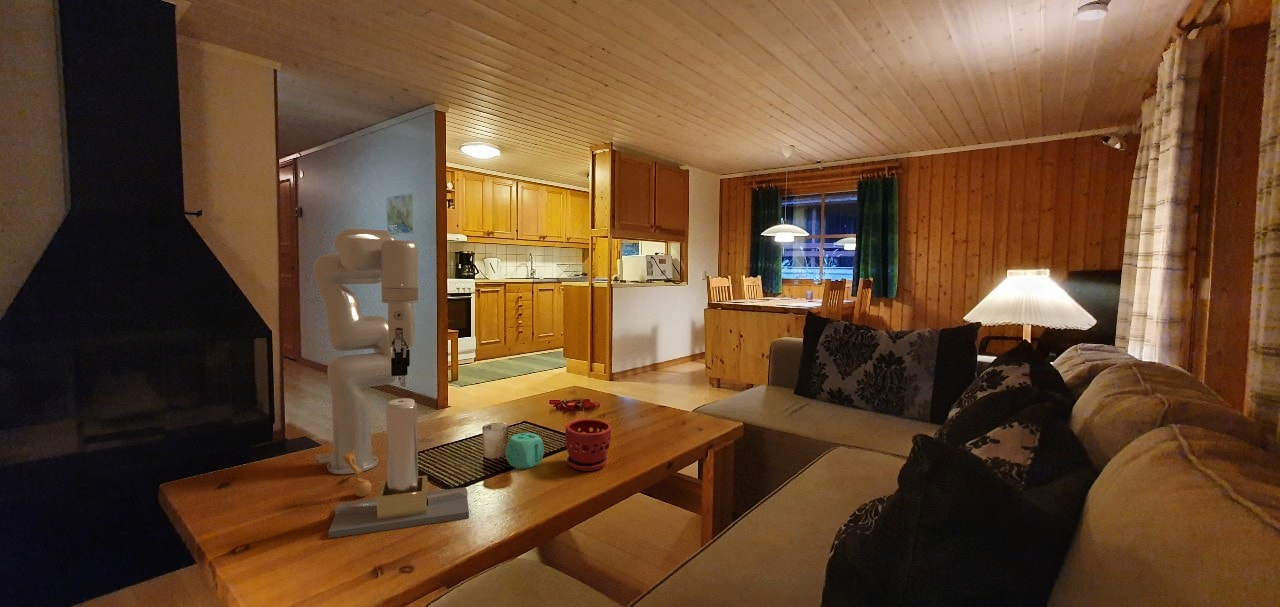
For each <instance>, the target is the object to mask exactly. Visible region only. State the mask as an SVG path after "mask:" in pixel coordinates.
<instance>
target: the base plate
mask: <svg viewBox="0 0 1280 607" xmlns="http://www.w3.org/2000/svg"><path fill="white" fill-rule="evenodd" d="M464 488H466V489H467V487H465V486H464V487H456V488H448V489H441V490H433V491H427V496H430V495H435V494H440V493H445V492H449V491H454V490H459V489H464ZM375 502H377V497H376V498H370V499H363V500H362V499H361V500H355V501H354V500H353V501H346V502H345V501H344V502H340V503H339V504H354V503H375ZM469 510H470V509H469V502H468V496H467V497H465V498H460V499H456V500H451V501H447V502H442V503H437V504H433V505H428V504H427V514H422V515H415V516H407V517H400V518H393V519H386V520H379V521H377V512H374V513H354V514H335V513H334V517H333V520H332V522H331V525H330V526H329V527H330V528H329V530H328V539H329V538H330V539H332V538H331V537H337V538H342V537H341V536H344V537H349V536H348V535H351V536H355V535H364V534H368V533H369V534H370V533H376V532H377V533H378V532H384V531H390V530H397V529H403V528H405V529H406V528H410V527H419V526H424V525H425V524H426V525H432V524H431V523H433V524H437V523H438V524H439V523H444V522H446V523H447V522H452V521H458V520H467V519H469V518H470V511H469ZM423 524H424V525H423ZM418 525H419V526H418Z"/></svg>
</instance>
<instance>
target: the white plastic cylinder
mask: <svg viewBox="0 0 1280 607" xmlns="http://www.w3.org/2000/svg"><path fill="white" fill-rule="evenodd" d="M385 411H386V415H385V416H386V417H385V418H386V461H387V462H386V465H387V466H386V467H387V468H386V470H387V472H386V473H387V474H386V475H387V480H388V495H395V494H403V493H410V492H418V476H419V450H418V448H419V447H418V445H419V444H418V443H419V442H418V439H419V438H418V436H419V435H418V434H419V433H418V403H417V402H416V401H415V399H413V398H405V397H403V398H395V399H391V400H389V401H387V406H386V407H385Z"/></svg>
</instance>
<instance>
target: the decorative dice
mask: <svg viewBox="0 0 1280 607" xmlns="http://www.w3.org/2000/svg"><path fill="white" fill-rule="evenodd" d="M504 449H505V450H504V451H505V457H506V460H507V462H508V464H509V465H510V466H511V467H512V466H513V468H514V467H515V469H517V470H518V469H519V470H528V469H532V468H535V467H537V466H538V465H539V464H540V463H541V461H542V459H543V457H544V454H545V445H544V441H543V440H542V438H541V437H540V435H539V434H536V433H533V432H532V433H531V432H522V433H521V432H520V433H516V434H514V435H512V436H511V437H510V438H509V439H508V441H507V443H506V446H505V448H504ZM527 468H528V469H527Z"/></svg>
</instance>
